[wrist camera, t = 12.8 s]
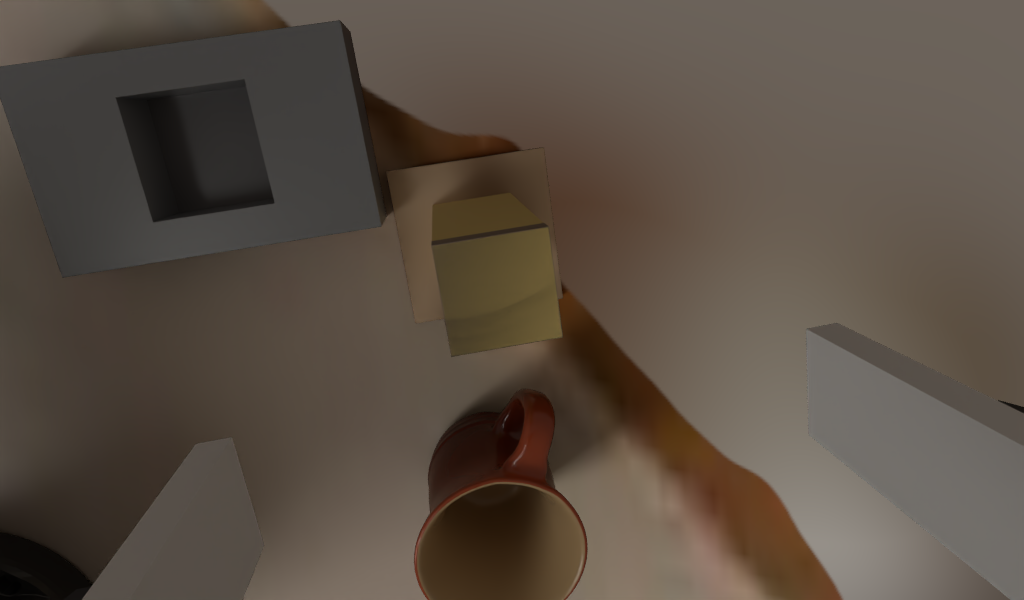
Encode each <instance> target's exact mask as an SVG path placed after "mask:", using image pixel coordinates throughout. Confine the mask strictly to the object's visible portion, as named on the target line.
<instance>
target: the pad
mask: <svg viewBox="0 0 1024 600" xmlns="http://www.w3.org/2000/svg"><path fill="white" fill-rule="evenodd" d="M386 173H387V179H388V184H389V189H390V194H391V199H392V204H393V209H394V215H395V220H396V225H397V230H398V235H399V240H400V245H401V251H402V256H403V261H404V266H405V271H406V276H407V282H408V287H409V292H410V297H411V302H412V307H413V312H414V318H415V323H421V322H427V321H433V320H439V319H444V313H443V308H442V302H441V297H440V291H439V286H438V280H437V275H436V269H435V263H434V258H433V252H432V247H431V241H432V205H435V204H442V203H448V202H454V201H461V200H467V199H473V198H479V197H486V196H492V195H498V194H505V193H511V194H512V195H513V196H514V197H515V198H516V199H518V200H519V201H520V202H521V203H522V204H523V205H524V206H525V207H526V208H528V209H529V210H530V211H531V212H532V213H533V214H534V215H535V216H536V217H538V218H539V219H540V220H541V221H542V222H543V223H545V224H546V225H547V226H549V233H550V240H551V248H552V256H553V264H554V272H555V279H556V287H557V295H558V299H561V298H563V295H562V287H561V279H560V271H559V263H558V255H557V248H556V239H555V232H554V224H553V216H552V208H551V200H550V192H549V184H548V176H547V168H546V160H545V152H544V148H535V149H528V150H522V151H515V152H509V153H502V154H496V155H489V156H483V157H476V158H470V159H463V160H457V161H450V162H444V163H437V164H431V165H424V166H418V167H411V168H405V169H398V170H392V171H387V172H386Z"/></svg>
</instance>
